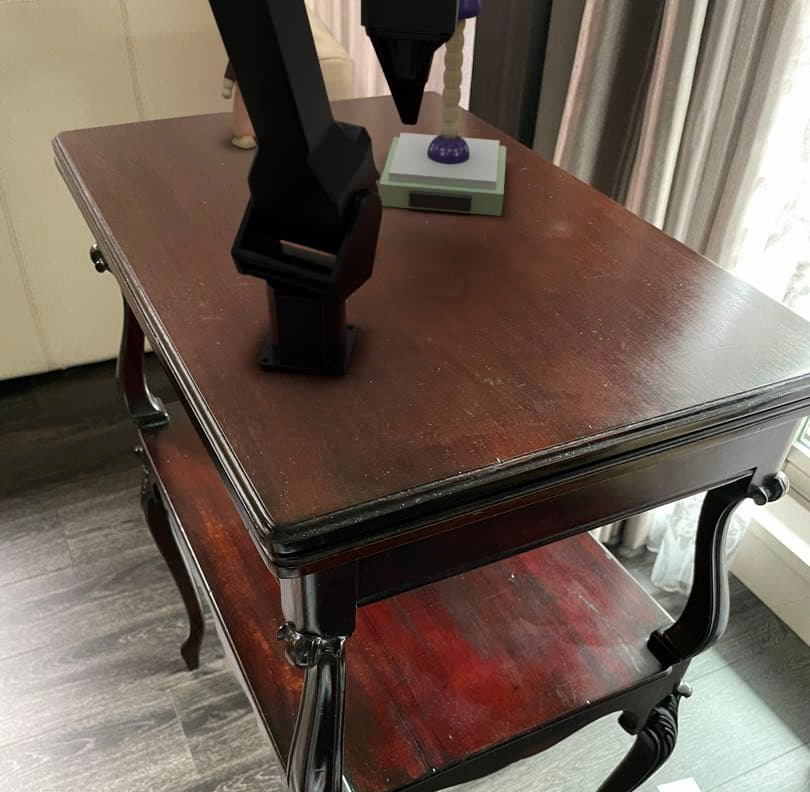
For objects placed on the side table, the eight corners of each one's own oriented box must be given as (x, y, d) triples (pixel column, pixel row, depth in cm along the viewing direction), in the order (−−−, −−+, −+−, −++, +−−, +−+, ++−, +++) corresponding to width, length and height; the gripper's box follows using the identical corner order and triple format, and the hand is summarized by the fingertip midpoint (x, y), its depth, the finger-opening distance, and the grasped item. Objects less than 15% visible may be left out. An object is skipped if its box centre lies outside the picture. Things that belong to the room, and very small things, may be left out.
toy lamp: (464, 168, 82) (481, -34, 70) (417, 162, 82) (427, -39, 71) (472, 150, 85) (490, -46, 73) (427, 144, 86) (438, -51, 74)
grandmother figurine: (257, 154, 90) (245, 19, 81) (223, 150, 90) (207, 15, 81) (279, 128, 95) (270, -1, 86) (246, 124, 96) (234, -5, 87)
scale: (500, 218, 81) (504, 187, 79) (378, 208, 82) (378, 177, 80) (503, 167, 90) (507, 138, 88) (393, 158, 91) (393, 128, 88)
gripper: (552, -123, 48) (516, 157, 59) (548, -164, 61) (519, 72, 72) (359, -135, 48) (359, 145, 59) (395, -174, 61) (390, 62, 72)
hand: (415, 102), depth 66 cm, fingers open, 9 cm apart
